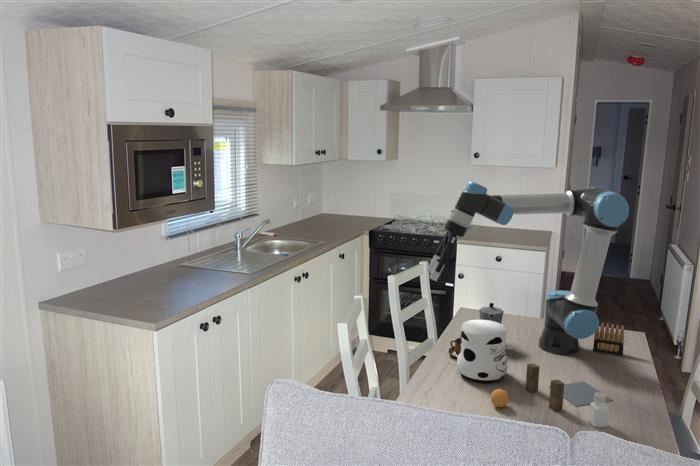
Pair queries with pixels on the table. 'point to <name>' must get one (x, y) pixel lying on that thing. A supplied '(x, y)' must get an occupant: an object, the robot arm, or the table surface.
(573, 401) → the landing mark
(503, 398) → the ball
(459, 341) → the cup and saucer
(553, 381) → the post
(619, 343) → the ammunition clip
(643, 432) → the table surface
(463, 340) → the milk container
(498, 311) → the coffeepot
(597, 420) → the pepper shaker
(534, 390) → the post
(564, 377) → the table surface
